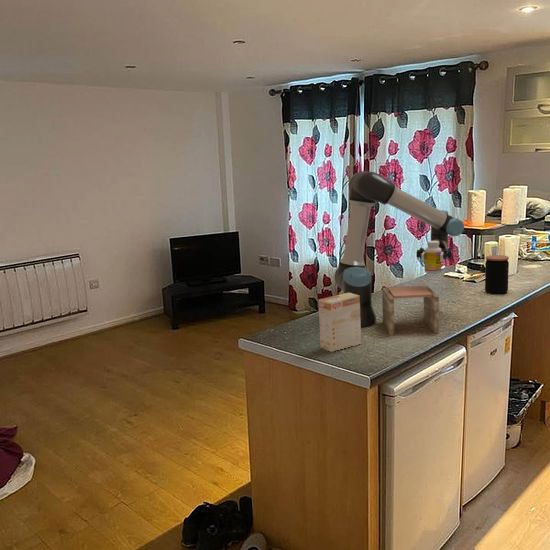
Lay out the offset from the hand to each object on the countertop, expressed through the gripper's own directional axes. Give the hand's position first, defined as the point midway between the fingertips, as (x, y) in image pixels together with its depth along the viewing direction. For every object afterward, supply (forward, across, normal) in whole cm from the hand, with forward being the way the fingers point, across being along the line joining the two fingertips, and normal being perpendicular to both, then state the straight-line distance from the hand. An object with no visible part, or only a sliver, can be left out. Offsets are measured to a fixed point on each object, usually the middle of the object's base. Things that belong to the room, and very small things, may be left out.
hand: (431, 257), depth 222 cm
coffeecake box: (+30, +30, -30) cm, 52 cm away
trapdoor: (+1, +9, -15) cm, 17 cm away
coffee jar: (-63, -25, -29) cm, 74 cm away
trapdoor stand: (+2, +8, -29) cm, 30 cm away
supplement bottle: (-5, 0, -7) cm, 9 cm away
